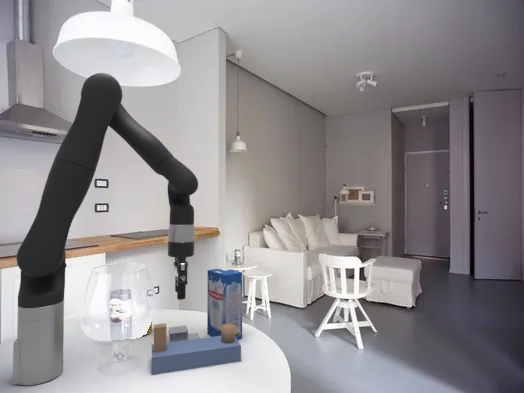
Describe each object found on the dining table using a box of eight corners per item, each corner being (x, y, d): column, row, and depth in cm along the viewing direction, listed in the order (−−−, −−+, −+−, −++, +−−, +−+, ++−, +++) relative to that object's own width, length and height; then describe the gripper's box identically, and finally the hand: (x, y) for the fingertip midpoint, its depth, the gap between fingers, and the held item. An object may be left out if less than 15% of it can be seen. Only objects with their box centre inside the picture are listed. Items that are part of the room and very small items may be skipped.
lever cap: (168, 350, 93) (168, 333, 93) (167, 343, 98) (167, 327, 98) (200, 345, 96) (200, 330, 96) (197, 339, 101) (197, 324, 101)
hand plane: (151, 374, 79) (151, 332, 79) (151, 360, 86) (151, 321, 87) (240, 361, 86) (240, 322, 86) (233, 348, 93) (233, 312, 94)
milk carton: (207, 334, 104) (207, 270, 104) (223, 329, 108) (223, 267, 108) (225, 344, 96) (225, 275, 97) (242, 338, 100) (242, 272, 101)
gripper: (167, 237, 103) (165, 290, 102) (169, 242, 90) (167, 303, 89) (191, 237, 105) (190, 288, 105) (197, 242, 92) (196, 301, 91)
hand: (179, 295), depth 97 cm, fingers open, 8 cm apart
